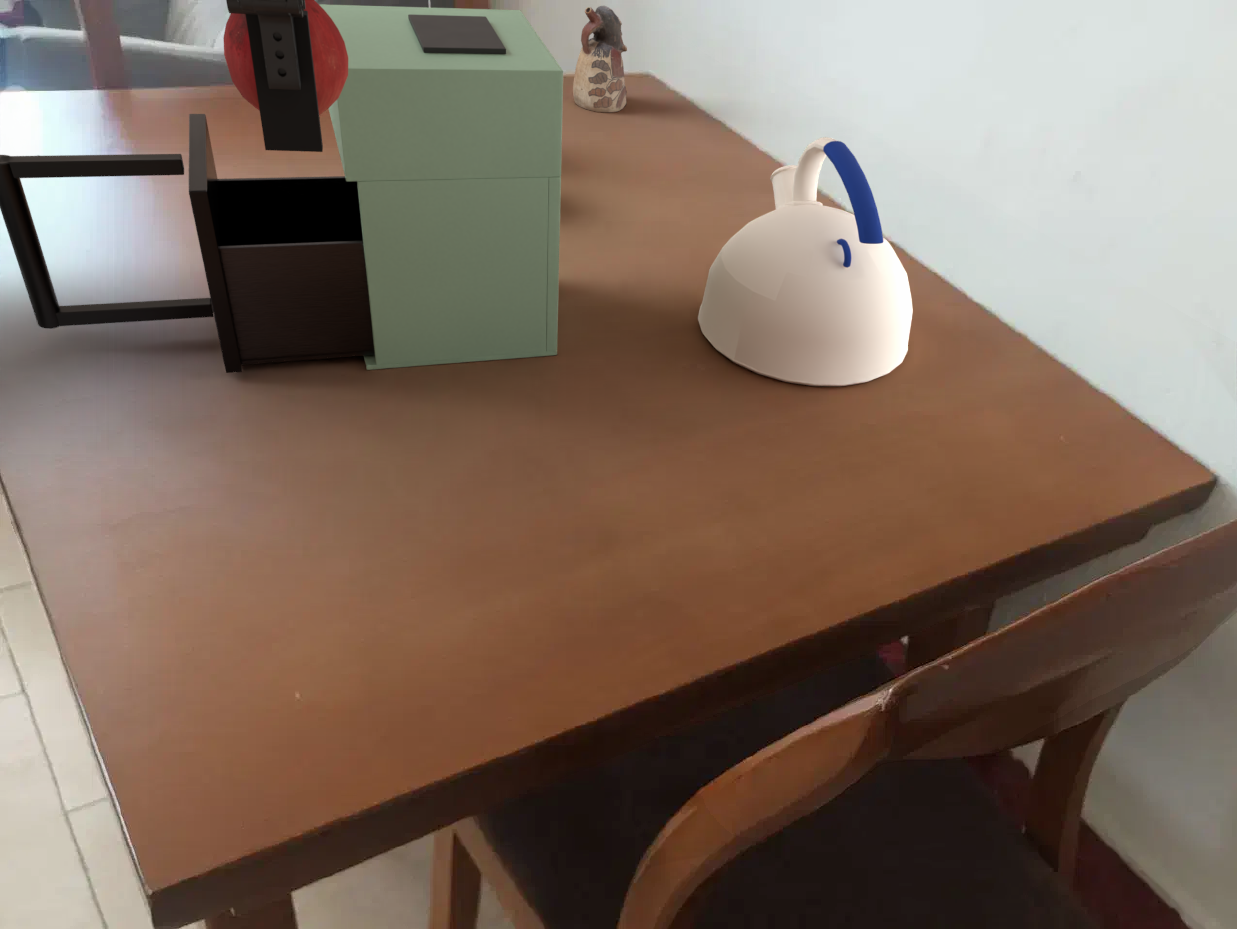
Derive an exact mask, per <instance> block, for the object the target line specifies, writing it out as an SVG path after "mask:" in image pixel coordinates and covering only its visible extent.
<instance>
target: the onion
mask: <svg viewBox="0 0 1237 929" xmlns="http://www.w3.org/2000/svg"><path fill="white" fill-rule="evenodd" d="M319 4H320V3H318V2H317V1H316V0H305V6H306V9H304V11H308V19H309V28H310V37H311V46H312V55H313V64H314V73H315V81H316V90H317V99H318V108H319V116H320V115H322V114H323V113H325V112H326V111H327V110H329V107H330V106H331V105H332V104H333V103H334V102H335V101H336V100H337V99H338V98H339V96H340V94H341V92H342V89H343V87H344V84H345V82H346V79H347V77H348V54H347V50H346V46H345V42H344V40H343V38H342V36H341V34H340V32H339V30H338V28H337V26H336V25H335V23H334V22H333V20H332V19H331V18H330V16H329V15H328V14H327V13H326V11H325V10H324V9H323V8H322V7H321V6H320V5H319ZM223 33H224V34H223V55H224V58H225V62H226V66H227V68H228V72H229V76H230V78H231V81H232V83H233V86H235V87H236V89H237V90H238V92H239V94H240V95H241V96H242V98H243V99H244V100H246V101H247V103H249V104H250V105H252V106H253V107H254V108H255V109H256V110H258V111H259V112H260V110H259V103H258V96H257V89H256V82H255V76H254V69H253V62H252V55H251V49H250V42H249V35H248V28H247V21H246V15H245V14H234V13H229V17H228V18H227V21H226V23H225V28H224V32H223Z"/></svg>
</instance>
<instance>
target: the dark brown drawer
mask: <svg viewBox="0 0 1237 929" xmlns="http://www.w3.org/2000/svg"><path fill="white" fill-rule="evenodd" d="M213 152H214V151H213V147H212V143H211V136H210V131H209V126H208V121H207V115H206V113H189V114H188V196H189V200H190V205H191V210H192V214H193V215H192V216H193V220H194V226H195V229H196V234H197V239H198V244H199V249H200V254H201V258H202V263H203V268H204V273H205V278H206V283H207V288H208V292H209V297H199V298H197V297H196V298H181V299H179V298H177V299H164V300H163V299H160V300H143V301H127V302H124V301H123V302H108V303H107V302H106V303H91V304H90V303H89V304H88V303H87V304H71V305H70V304H69V305H60V304H59V302H58V298H57V294H56V291H55V288H54V285H53V281H52V278H51V275H50V271H49V269H48V265H47V261H46V257H45V255H44V251H43V249H42V245H41V241H40V239H39V236H38V233H37V228H36V226H35V222H34V219H33V216H32V213H31V210H30V206H29V203H28V200H27V197H26V193H25V190H24V187H23V184H22V180H21V179H45V178H46V179H49V178H50V179H51V178H54V179H55V178H97V177H98V178H99V177H105V178H106V177H148V176H149V177H150V176H151V177H152V176H155V177H156V176H185V165H184V160H183V155H182V153H147V154H146V153H141V154H139V153H138V154H134V153H133V154H131V153H130V154H72V155H71V154H70V155H69V154H67V155H66V154H65V155H63V154H62V155H61V154H60V155H59V154H58V155H9V154H0V213H1V215H2V218H3V221H4V224H5V227H6V230H7V234H8V237H9V241H10V243H11V246H12V249H13V252H14V255H15V259H16V261H17V264H18V268H19V271H20V274H21V277H22V280H23V283H24V286H25V289H26V292H27V296H28V298H29V302H30V305H31V307H32V310H33V315H34V317H35V320H36V323H37V325H38V327H40V328H42V329H45V330H49V329H50V330H51V329H52V330H53V329H56V328H59V327H70V326H87V325H103V324H119V323H121V324H122V323H136V322H137V323H138V322H152V321H154V322H155V321H166V320H167V321H170V320H186V319H205V318H213V317H214V322H215V326H216V331H217V337H218V341H219V345H220V351H221V356H222V360H223V365H224V370H225V373H226V374H232V373H233V374H234V373H242V372H243V366H244V365H257V364H268V363H269V364H270V363H283V362H295V361H307V360H308V361H310V360H322V359H324V360H325V359H336V358H337V359H338V358H350V357H351V358H352V357H364V356H365V355H375V352H374V343H373V333H372V323H371V313H370V303H369V294H368V284H367V274H366V264H365V255H364V245H363V235H362V225H361V215H360V206H359V196H358V186H357V181H346V179H345V175H336V176H335V175H334V176H333V175H332V176H292V177H291V176H287V177H285V176H284V177H282V176H281V177H245V178H244V177H239V178H218V174H217V173H218V172H217V168H216V164H215V158H214V153H213Z"/></svg>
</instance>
